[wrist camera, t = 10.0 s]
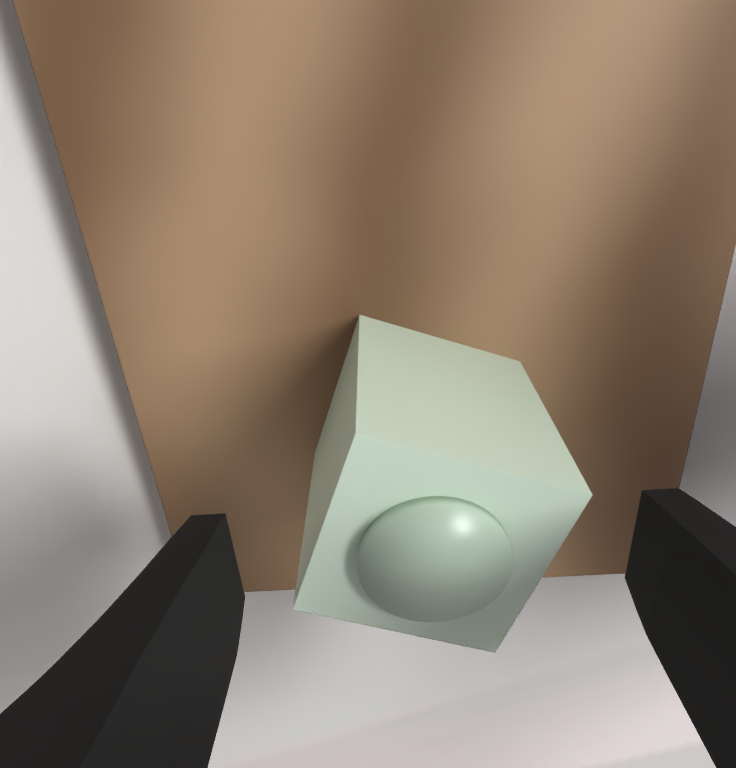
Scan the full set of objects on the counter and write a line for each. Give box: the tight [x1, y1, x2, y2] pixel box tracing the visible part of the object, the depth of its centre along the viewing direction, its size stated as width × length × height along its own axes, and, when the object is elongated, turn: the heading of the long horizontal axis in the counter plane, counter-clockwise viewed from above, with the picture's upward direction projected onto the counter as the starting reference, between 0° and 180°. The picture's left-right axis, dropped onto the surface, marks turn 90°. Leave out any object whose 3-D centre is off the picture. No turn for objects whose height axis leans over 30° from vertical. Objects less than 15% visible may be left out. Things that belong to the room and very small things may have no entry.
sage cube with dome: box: [293, 315, 592, 653], centre depth 12 cm, size 4×4×5 cm
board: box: [13, 0, 736, 592], centre depth 13 cm, size 14×20×1 cm
